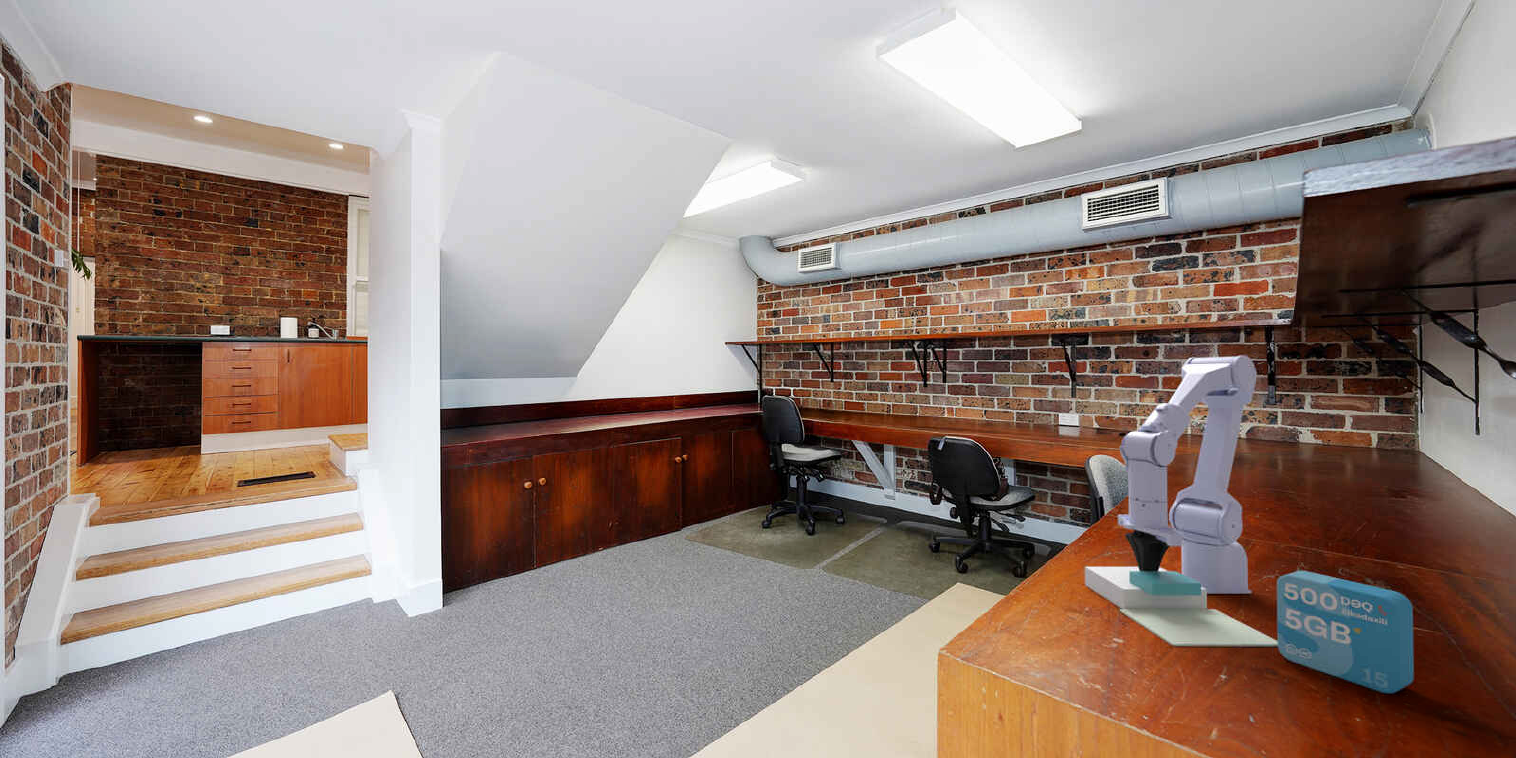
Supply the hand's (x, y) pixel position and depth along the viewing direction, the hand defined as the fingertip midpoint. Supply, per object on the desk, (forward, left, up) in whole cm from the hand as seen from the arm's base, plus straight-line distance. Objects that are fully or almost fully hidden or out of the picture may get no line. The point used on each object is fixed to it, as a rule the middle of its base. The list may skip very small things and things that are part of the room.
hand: (1148, 575), depth 102 cm
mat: (0, +11, -4) cm, 12 cm away
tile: (0, +4, -1) cm, 4 cm away
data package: (-9, +25, -5) cm, 27 cm away
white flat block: (0, -2, -4) cm, 5 cm away
